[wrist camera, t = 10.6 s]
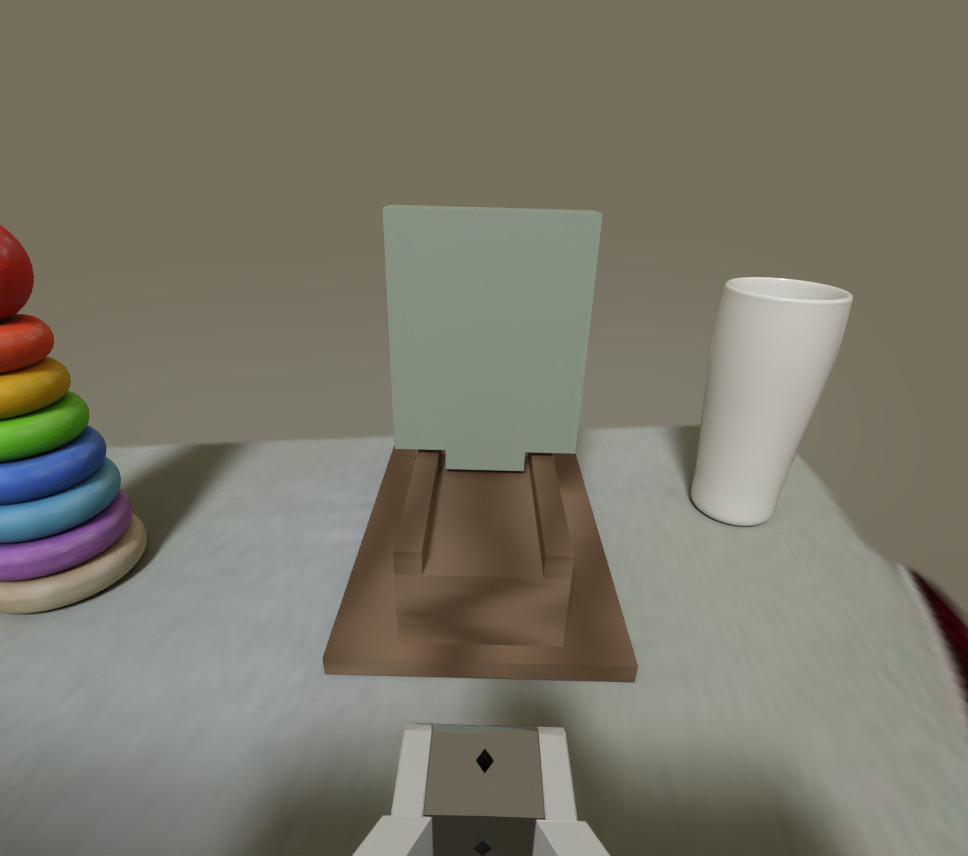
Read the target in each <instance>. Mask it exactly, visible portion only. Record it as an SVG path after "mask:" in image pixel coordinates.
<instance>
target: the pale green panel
mask: <svg viewBox="0 0 968 856" xmlns="http://www.w3.org/2000/svg"><path fill="white" fill-rule="evenodd" d="M601 221H602V214H601V213H599V212H597V211H591V210H590V211H589V210H555V209H520V208H519V209H518V208H485V207H450V206H414V205H388V206H386V207H384V208H383V222H384V241H385V261H386V280H387V281H386V282H387V301H388V320H389V321H388V322H389V341H390V361H391V381H392V400H393V421H394V441H395V449H424V450H446V469H467V470H504V471H524V460H525V452H535V453H571V454H576V445H577V436H578V427H579V419H580V409H581V400H582V392H583V382H584V374H585V365H586V356H587V347H588V337H589V329H590V320H591V310H592V302H593V293H594V284H595V275H596V266H597V257H598V248H599V239H600V230H601Z"/></svg>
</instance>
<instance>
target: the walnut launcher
mask: <svg viewBox="0 0 968 856" xmlns="http://www.w3.org/2000/svg"><path fill="white" fill-rule="evenodd" d="M416 451H417V449H395V445H394V448H393V451H392V454H391V457H390V460H389V463H388V466H387V469H386V472H385V475H384V478H383V481H382V483H381V486H380V489H379V492H378V495H377V498H376V501H375V504H374V507H373V510H372V513H371V516H370V519H369V522H368V525H367V528H366V531H365V534H364V537H363V540H362V543H361V546H360V549H359V552H358V555H357V558H356V561H355V564H354V567H353V570H352V572H351V575H350V578H349V581H348V584H347V587H346V590H345V593H344V596H343V599H342V602H341V605H340V608H339V611H338V614H337V617H336V620H335V623H334V626H333V629H332V632H331V635H330V638H329V641H328V644H327V647H326V650H325V653H324V656H323V665H324V672H325V674H337V675H376V676H414V677H453V678H491V679H530V680H568V681H607V682H635V678H636V673H637V669H638V665H637V662H636V658H635V655H634V651H633V648H632V645H631V641H630V638H629V634H628V631H627V628H626V624H625V621H624V617H623V614H622V611H621V607H620V604H619V600H618V597H617V594H616V590H615V587H614V583H613V580H612V577H611V573H610V570H609V566H608V563H607V560H606V556H605V553H604V549H603V546H602V543H601V539H600V536H599V532H598V529H597V526H596V522H595V519H594V516H593V512H592V509H591V505H590V502H589V499H588V495H587V492H586V488H585V485H584V482H583V478H582V475H581V471H580V468H579V465H578V461H577V458H576V454H571V453H553V455H552V453H535V452H528V455H525V460H524V471H504V470H467V469H446V453H442V450H424V449H418V453H417V457H416V461H415V455H416ZM553 457H554V460H553Z"/></svg>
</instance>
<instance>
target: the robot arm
mask: <svg viewBox="0 0 968 856" xmlns="http://www.w3.org/2000/svg"><path fill="white" fill-rule="evenodd" d="M352 856H610V854H609V853H608V852H607V850H606V849H605V847H604V846H603V844H602V843H601V842H600V840H599V839H598V837H597V836H596V835H595V833H594V832H593V830H592V829H591V828H590V826H589V825H588V823H587V822H586V821H578V819H577V812H576V804H575V797H574V789H573V782H572V774H571V767H570V760H569V752H568V745H567V737H566V732H565V730H564V728H563V727H536V726H525V725H485V726H475V725H453V724H433V723H406V726H405V729H404V733H403V739H402V746H401V752H400V758H399V765H398V771H397V778H396V784H395V791H394V797H393V804H392V810H391V815H382V817H381V818H380V819H379V821H378V822H377V823H376V825H375V826H374V827H373V829H372V830H371V831H370V832H369V834H368V835H367V836H366V838H365V839H364V840H363V842H362V843H361V844H360V846H359V847H358V848H357V850H356V851H355V852H354V854H353V855H352Z"/></svg>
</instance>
